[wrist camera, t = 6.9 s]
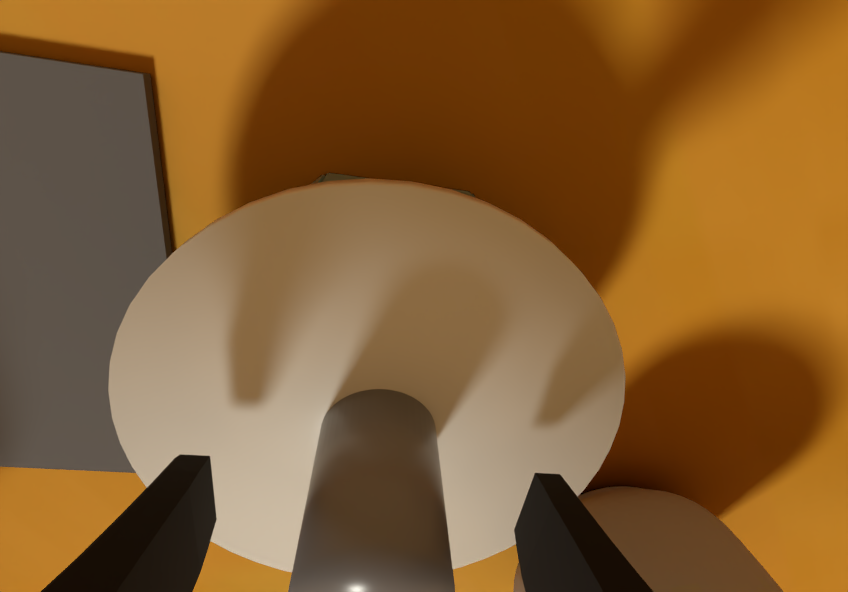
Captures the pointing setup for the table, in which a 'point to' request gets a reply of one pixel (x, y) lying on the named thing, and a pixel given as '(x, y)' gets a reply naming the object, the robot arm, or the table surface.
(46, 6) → the table surface
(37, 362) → the mat
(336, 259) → the lid
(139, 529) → the robot arm
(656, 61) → the table surface
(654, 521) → the teacup
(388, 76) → the table surface
